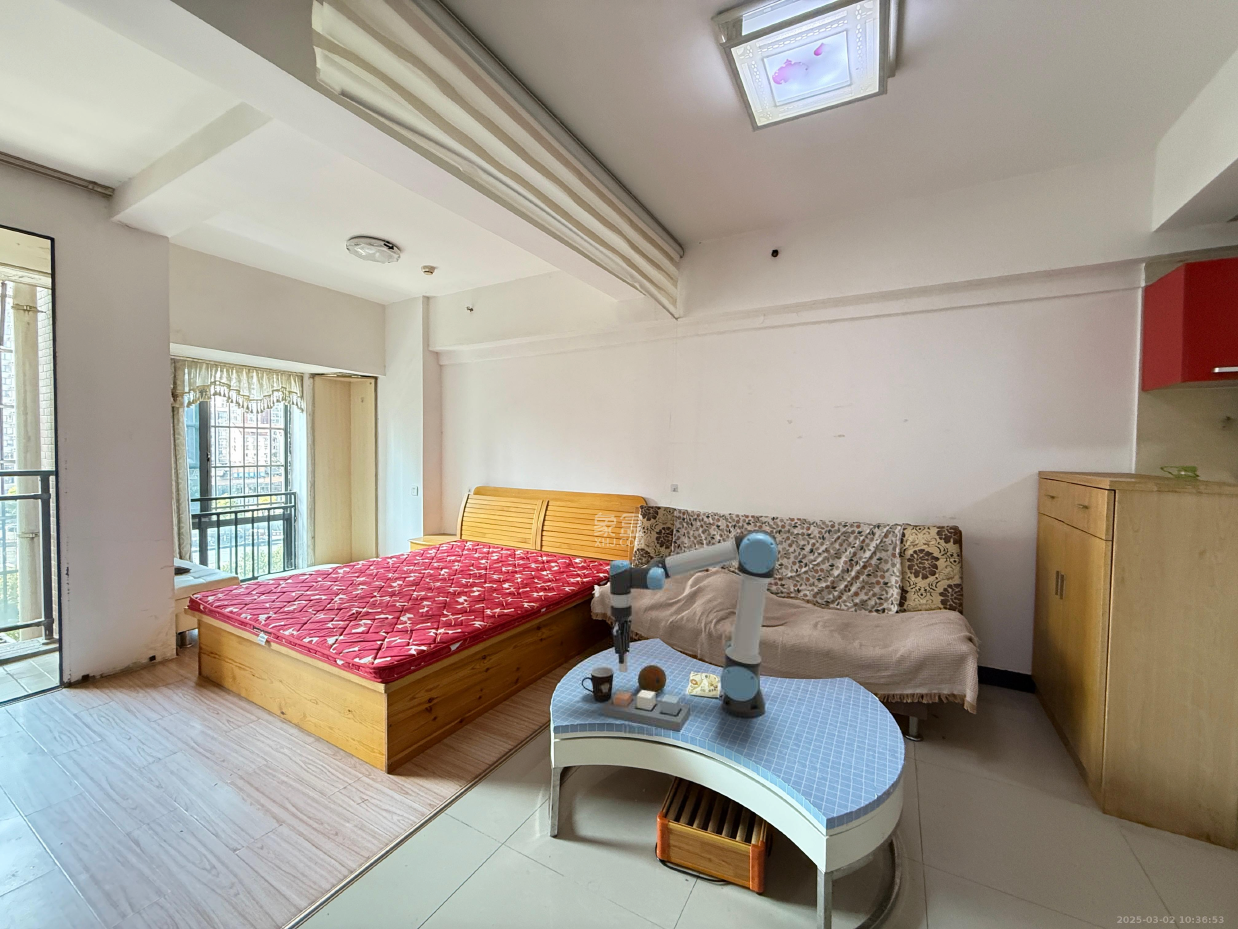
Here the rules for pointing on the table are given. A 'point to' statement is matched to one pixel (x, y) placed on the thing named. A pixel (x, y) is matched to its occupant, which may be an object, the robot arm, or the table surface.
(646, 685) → the fruit
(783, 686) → the table surface
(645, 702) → the key ivory
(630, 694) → the key terracotta
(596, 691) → the coffee mug
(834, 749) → the table surface
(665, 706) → the key slate
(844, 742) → the table surface
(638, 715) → the grey slotted tray
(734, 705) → the robot arm
